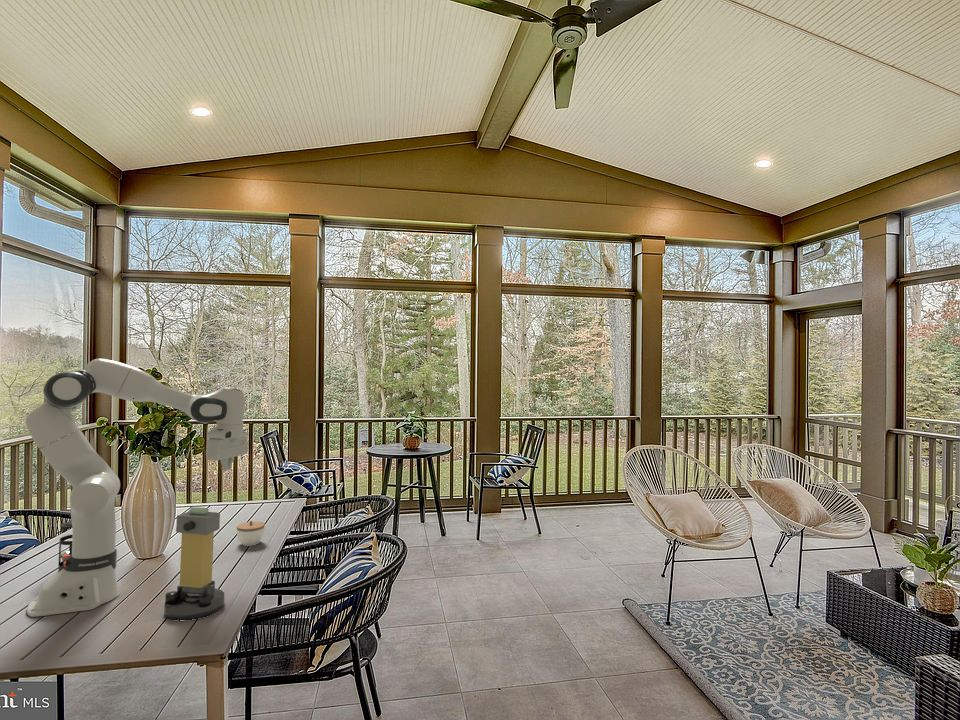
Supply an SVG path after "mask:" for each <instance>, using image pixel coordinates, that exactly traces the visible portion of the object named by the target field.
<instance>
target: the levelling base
mask: <svg viewBox="0 0 960 720" xmlns="http://www.w3.org/2000/svg"><path fill="white" fill-rule="evenodd" d="M215 584H216V581H215V580H212V582H210V583H209V584H208V585H209V586H208V587H206V588H205V589H204V595H197V594H187V593H182V586H180V584H178V585H177V586H176V587H177V588H176V589H177V591H175V590H174V591H173V590H172V591H168V592H166V593H165V599H164V601H165V602H164V605H163V607H164V608H163V611H164V612H163V616H164V618H166V620H169V619H170V620H169V621H172V620H179V621H178V622H181V621H180V620H192V619H198V618H202V619H204V618H203V617H205V618H208V617H210V615H211V616H213V615H215V614H217V613H219V612H220V611H221V610H223V608H224V606H225V592H224V591H223V589H222V590H221V589H219V588H215V586H216V585H215ZM218 611H219V612H218ZM216 612H217V613H216ZM214 613H215V614H214ZM212 614H213V615H212ZM207 616H208V617H207ZM198 620H199V619H198ZM192 621H193V620H192Z"/></svg>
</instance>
